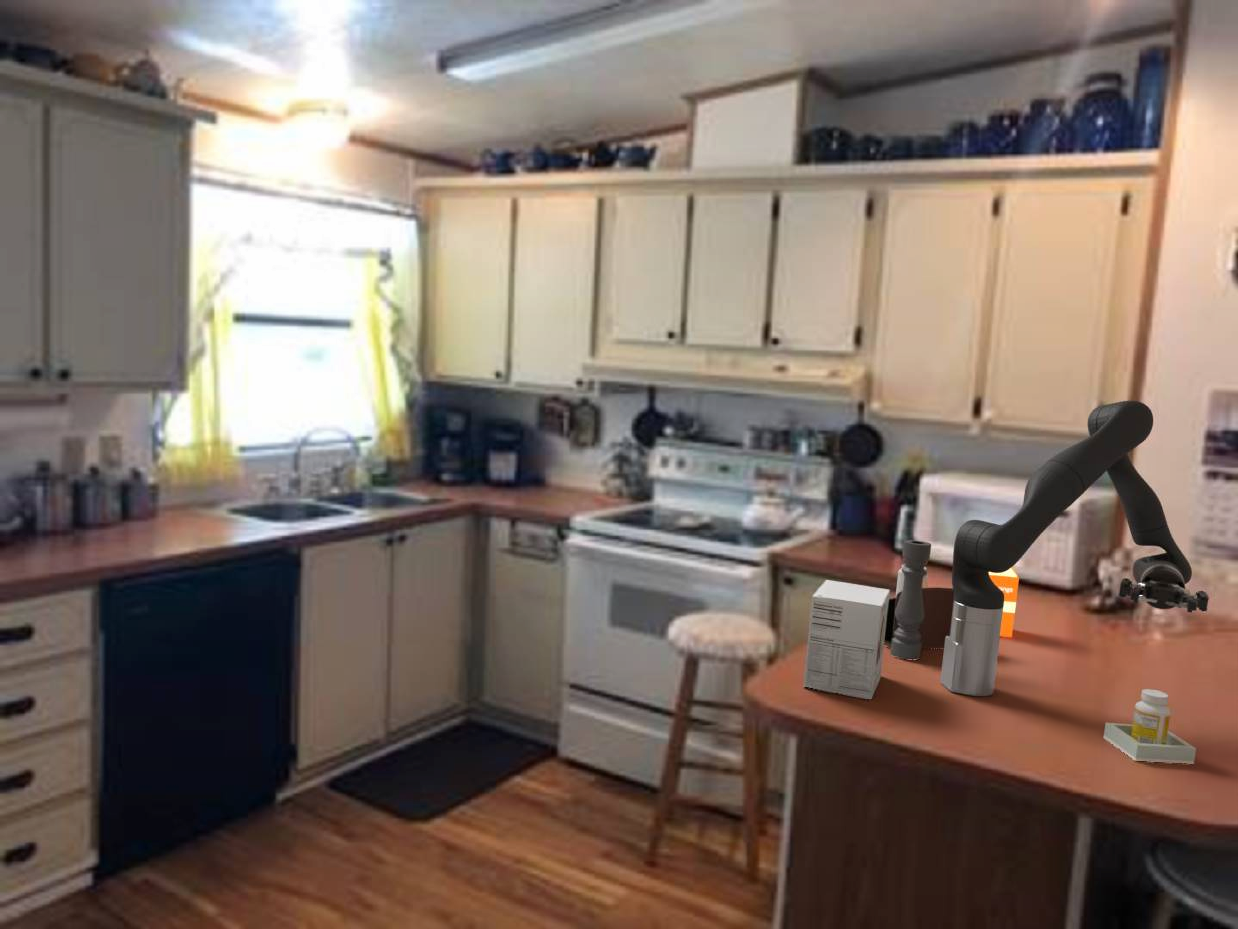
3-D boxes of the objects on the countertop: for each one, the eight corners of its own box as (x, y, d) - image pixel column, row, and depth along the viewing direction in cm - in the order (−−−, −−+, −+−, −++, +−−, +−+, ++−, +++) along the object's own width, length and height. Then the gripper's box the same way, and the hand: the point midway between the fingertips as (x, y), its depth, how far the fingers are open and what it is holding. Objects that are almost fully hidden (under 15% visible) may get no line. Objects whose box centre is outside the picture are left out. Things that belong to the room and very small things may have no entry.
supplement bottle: (1141, 753, 168) (1149, 697, 167) (1123, 740, 174) (1130, 686, 173) (1172, 754, 169) (1180, 699, 168) (1152, 741, 174) (1159, 688, 173)
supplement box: (873, 701, 186) (883, 606, 184) (801, 688, 191) (810, 595, 189) (882, 676, 202) (892, 588, 200) (816, 664, 207) (825, 578, 205)
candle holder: (924, 657, 218) (937, 544, 215) (911, 662, 213) (924, 546, 210) (898, 650, 222) (910, 538, 219) (885, 655, 217) (897, 541, 214)
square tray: (1135, 761, 166) (1137, 745, 166) (1103, 738, 176) (1105, 722, 176) (1193, 764, 167) (1196, 748, 166) (1158, 741, 176) (1160, 725, 176)
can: (927, 612, 259) (933, 566, 258) (919, 617, 253) (924, 570, 251) (899, 606, 263) (904, 561, 262) (890, 611, 257) (895, 565, 255)
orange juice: (1002, 627, 249) (1011, 548, 247) (1012, 637, 240) (1022, 555, 238) (969, 624, 250) (979, 545, 247) (978, 634, 241) (988, 552, 239)
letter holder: (967, 649, 228) (974, 588, 226) (892, 651, 221) (899, 588, 219) (940, 636, 237) (946, 577, 235) (867, 638, 230) (873, 578, 229)
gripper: (1124, 560, 196) (1121, 574, 181) (1208, 573, 189) (1212, 589, 175) (1118, 597, 196) (1115, 614, 182) (1201, 612, 190) (1206, 630, 176)
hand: (1163, 602), depth 178 cm, fingers open, 8 cm apart
